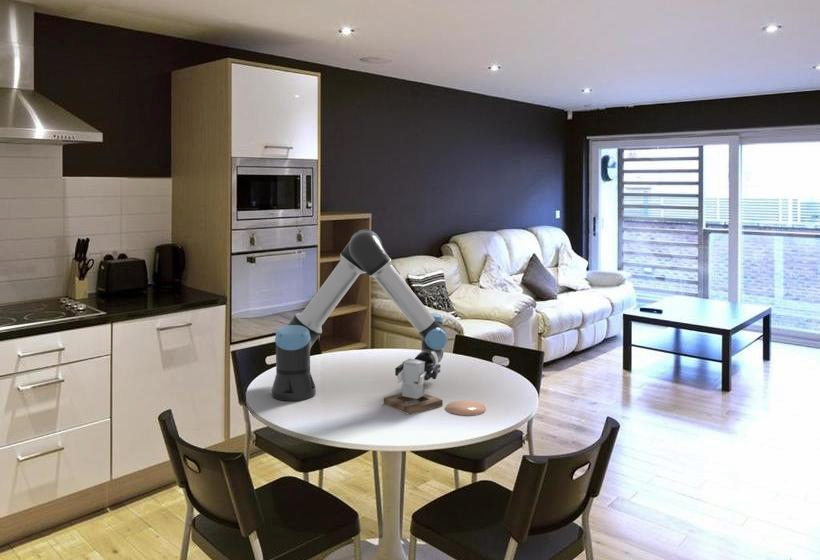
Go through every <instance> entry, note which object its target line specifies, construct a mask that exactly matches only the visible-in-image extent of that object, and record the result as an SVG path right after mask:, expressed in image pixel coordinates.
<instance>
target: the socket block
mask: <svg viewBox="0 0 820 560" xmlns="http://www.w3.org/2000/svg"><path fill="white" fill-rule="evenodd" d="M412 400H416V401H419V402H414V403H410V402H408V401H412ZM443 402H444V400H443V399H442V398H439V397H436V396H434V395H430V394H429V393H426V392H423V396H422V397H420V398H418V399H414V398H410V397H405V396H402V392H401V393H397V394H392V395H389V396H385V397H383V404H384V405H387V406H389V407H392V408H393V409H395V410H398V411H400V410H401V411H400V412H403V413H405V412H406V414H407V413H408V415H413V413H414V414H417V412H418V413H420V412H425V411H428V410H432V409H436V408H439V407H443Z"/></svg>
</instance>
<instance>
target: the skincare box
mask: <svg viewBox="0 0 820 560" xmlns="http://www.w3.org/2000/svg"><path fill="white" fill-rule="evenodd" d="M403 362H404V367H403V380H402V390H401V391H402V392H401V393H402V396H405V397H410V398H414V399H413V400H415V399H418V398H420V397H422V396H423V393H424V384H425V382H424V383H423V384H422V385H420V376H421V375H422V374H423V372H424V366H425V361H421V360H416V359H415V358H414V359H413V358H407V359H406V360H404V361H403Z"/></svg>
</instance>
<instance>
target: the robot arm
mask: <svg viewBox="0 0 820 560" xmlns="http://www.w3.org/2000/svg"><path fill="white" fill-rule="evenodd" d="M382 242H383V241H382V240H381V237H380V236H379V235H378V234H377V233H376V232H374V230H373V231H372V230H369V229H360V230H358V231H356V232H354V233H353V234H352V236H351V237H350V240H349V241H348V243H347V244H346V245H345V247H344V248H343V250H342V251H341V252H340V255H339V256H340V260H339V262H338V263H337V264H336V265H335V267H334V269H333V270H332V272H331V273H330V274H329V276H328V277H327V278H326V280H325V281H324V283H323V284H322V285H321V286H320V288H319V289H318V291H317V292H316V293H315V294H314V296H313V297H312V299H311V300H310V301H309V303H308V304H307V305H306V307H305V308H304V310H303V311H301V312H297V313H295V315H294V316H293V317H292V319H291V320H290V321H289V323H288V324H287V325H285V326H283V327H280V328H278V329H277V330H276V332H275V338H274V342H275V365H276V366H275V367H276V368H275V369H276V372H275V373H276V374H275V378H274V381H273V384H272V386H271V387H272V388H271V397H272V396H273V397H274V398H273V397H272V398H273V399H275V398H276V399H275V400H278V399H279V400H278V401H284V400H286V401H288V402H295V401H303V400H307V399H311V398H313V397H314V396H315V395H316V391H317V390H316V384H315V381H314V379H313V376H312V373H311V349H312V346H313V345H314V343H315V342H316V341H317V340H318V339H319V337H320V336H321V334H322V333H323V329H322V326H323V325H324V323H326V320H327V319H328V318H329V316H330V315H331V314H332V313H333V311H334V310H335V308H336V307H337V306H338V304H339V303H340V302H341V300H342V299H343V297H345V295H346V294H347V292H348V291H349V289H350V288H351V287H352V286H353V284H354V283H355V282H356V280H357V279H358V277H359V276H360V275H362V274H367V275H368V277H369V278H374V280H376V282H377V283H378V284H379V286H380V287H381V288H382V289H383V291H384V292H385V293H386V294H387V296H388V297H389V298H390V299H391V300H392V302H393V303H394V304H395V305H396V307H397V308H398V309H399V310H400V312H401V313H402V315H404V316H405V318H406V319H407V321H408V322H409V323H410V324H411V326H412V327H414V329H415V330H416V331H417V333H418V334H419V336H421V351H420V352H419V353H418V354H417V355H416V356H415V357H414V359H416V360H421V361H425V366H424V372H423V374H422V375H421V376H420V385H422V384H423V383H424V384H425V382H426V381H429V380H431V378H432V380H436V379H437V377H438V374H439V373H441V364H439V363H440V362H441V360H442V359H443V357H444V349H443V348H445V346H446V345H447V342H448V334H447V332H446V331H445V329H444V328H443V323H444V322H443V316H442V314H439V313H436V312H435V313H434V312H432V313H431V312H430V311H429V310H428V309H427V307H426V306H425V305H424V304H423V302H422V301H421V300H420V298H419V297H418V296H417V294H416V293H415V292H413V290H412V289H411V287H410V286H409V284H407V282H406V281H405V280H404V278H403V277H402V276H401V275H400V274H399V272H398V270H397V269H396V268H395V267H394V265H392V258H391V257H390V256H389V254H388V252H387V251H386V250H385V248H384V245H383V243H382ZM403 367H404V361H402V363H401V364H399V365H398V366H396V367H395V369H394V372H395V376H397V383H398V384H401V383H402V382H403Z"/></svg>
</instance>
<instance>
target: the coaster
mask: <svg viewBox="0 0 820 560" xmlns="http://www.w3.org/2000/svg"><path fill="white" fill-rule="evenodd" d="M445 410H446V411H447V412H448V413H450V412H451V414H453V413H454V415H457V414H458V415H457V416H465V415H471V416H477V415H476V414H478V415H482V414H483V412H484V413H485V412H486V410H487V406H486V405H485V404H484V403H481V402H478V401H474V400H456V401H451V402H449V403H447V404H446V405H445ZM481 413H482V414H481Z"/></svg>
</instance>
